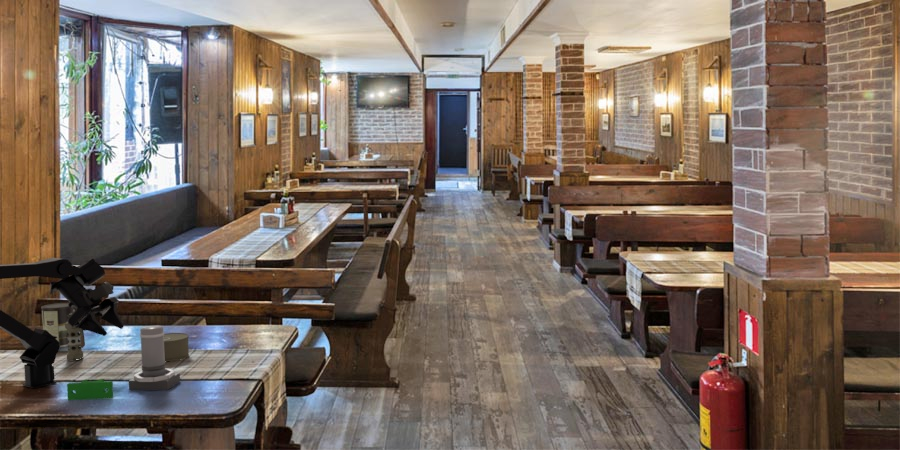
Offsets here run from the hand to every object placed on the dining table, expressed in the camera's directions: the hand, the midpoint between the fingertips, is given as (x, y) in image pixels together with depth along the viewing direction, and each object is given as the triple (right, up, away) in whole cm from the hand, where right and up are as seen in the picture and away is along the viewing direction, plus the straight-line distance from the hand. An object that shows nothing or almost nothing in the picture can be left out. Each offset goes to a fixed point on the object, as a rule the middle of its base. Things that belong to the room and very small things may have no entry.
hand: (114, 331), depth 214 cm
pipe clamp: (+3, -16, -18) cm, 24 cm away
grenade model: (-21, -12, +22) cm, 33 cm away
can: (+8, -12, +22) cm, 26 cm away
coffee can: (-38, -11, +41) cm, 58 cm away
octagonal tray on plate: (+15, -14, -9) cm, 23 cm away
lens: (+15, -12, -9) cm, 21 cm away
